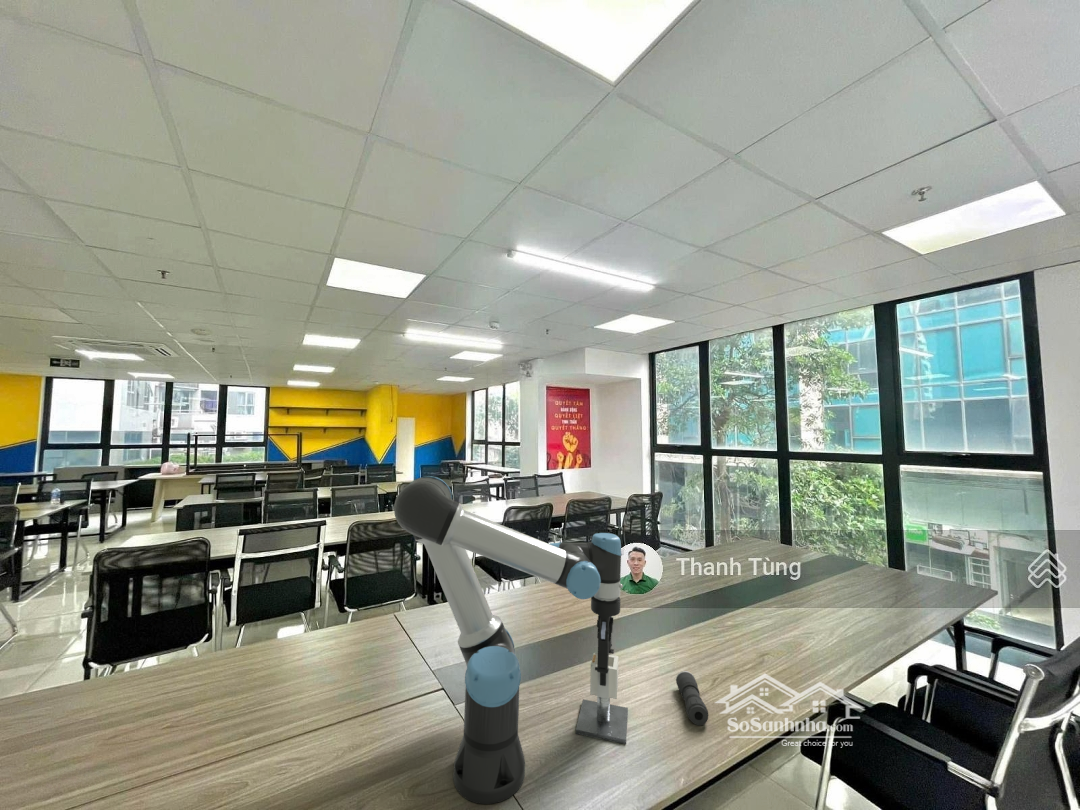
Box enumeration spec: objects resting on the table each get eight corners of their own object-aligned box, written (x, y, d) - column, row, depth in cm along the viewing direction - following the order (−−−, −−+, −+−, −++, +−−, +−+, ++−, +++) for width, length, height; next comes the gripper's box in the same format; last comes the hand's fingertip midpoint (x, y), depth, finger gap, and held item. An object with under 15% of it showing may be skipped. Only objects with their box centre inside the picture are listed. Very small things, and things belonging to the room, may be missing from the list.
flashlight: (710, 728, 105) (710, 706, 106) (688, 726, 106) (688, 704, 106) (695, 691, 120) (695, 671, 121) (675, 689, 121) (676, 670, 121)
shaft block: (626, 744, 99) (626, 706, 99) (575, 733, 102) (576, 697, 102) (627, 711, 110) (628, 678, 111) (582, 703, 113) (583, 670, 114)
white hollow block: (616, 699, 103) (616, 668, 103) (590, 694, 104) (590, 664, 105) (618, 683, 109) (618, 654, 109) (593, 679, 110) (593, 651, 111)
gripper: (618, 613, 98) (616, 715, 96) (622, 584, 117) (621, 669, 115) (586, 608, 99) (584, 709, 98) (595, 581, 118) (593, 665, 117)
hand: (604, 687), depth 107 cm, fingers closed on white hollow block, 6 cm apart
